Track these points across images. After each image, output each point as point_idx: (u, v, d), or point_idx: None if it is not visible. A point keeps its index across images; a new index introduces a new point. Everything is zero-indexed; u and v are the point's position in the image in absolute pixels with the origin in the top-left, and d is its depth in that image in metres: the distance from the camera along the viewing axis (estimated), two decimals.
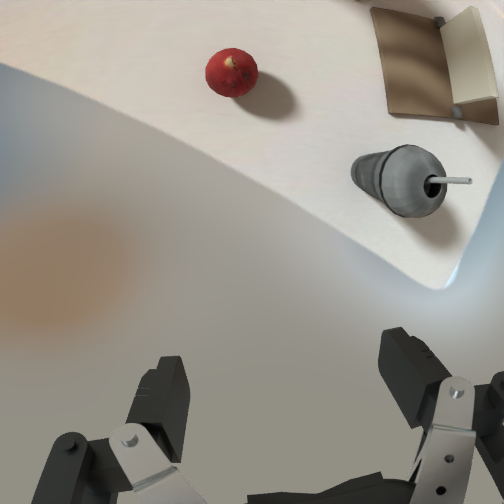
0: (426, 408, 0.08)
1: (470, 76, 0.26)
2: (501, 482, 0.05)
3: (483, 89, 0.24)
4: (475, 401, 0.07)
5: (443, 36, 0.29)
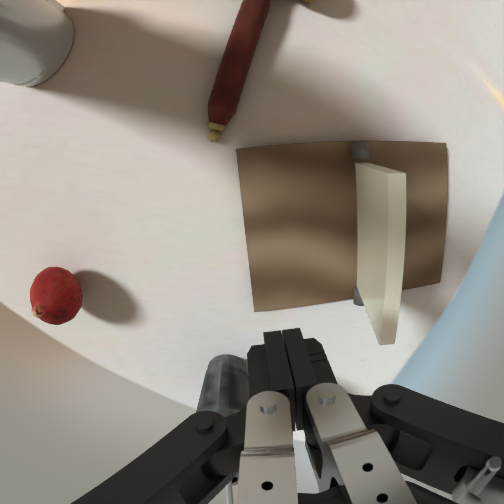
0: (303, 411, 0.09)
1: (370, 283, 0.23)
2: (433, 480, 0.06)
3: (376, 323, 0.22)
4: None
5: (357, 181, 0.26)
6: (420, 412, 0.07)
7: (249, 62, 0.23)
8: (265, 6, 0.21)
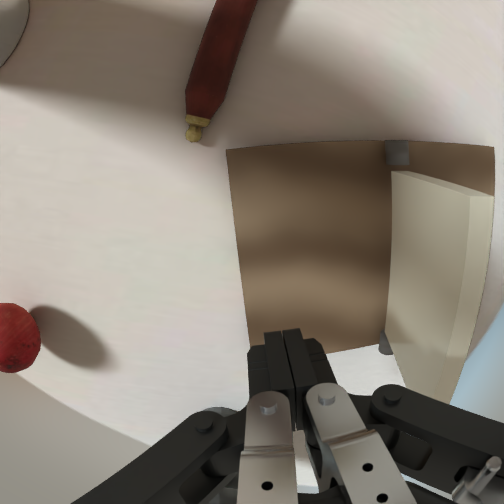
0: (303, 411, 0.09)
1: (412, 342, 0.15)
2: (433, 480, 0.06)
3: None
4: None
5: (394, 196, 0.18)
6: (420, 412, 0.07)
7: (243, 31, 0.16)
8: None
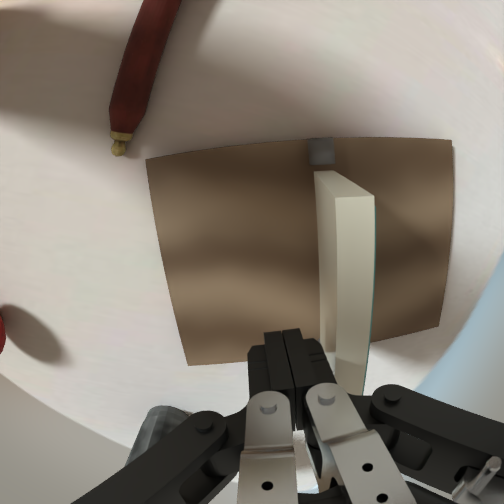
0: (302, 411, 0.09)
1: (326, 356, 0.15)
2: (433, 480, 0.06)
3: None
4: None
5: (316, 198, 0.18)
6: (420, 412, 0.07)
7: (159, 45, 0.16)
8: None
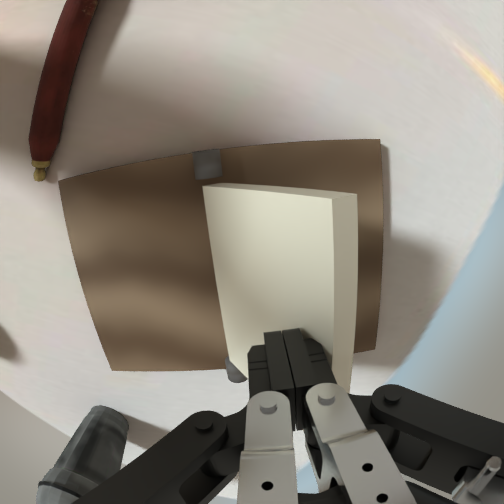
0: (302, 411, 0.09)
1: None
2: (433, 480, 0.06)
3: None
4: None
5: (209, 214, 0.17)
6: (420, 412, 0.07)
7: (64, 76, 0.16)
8: (86, 0, 0.13)
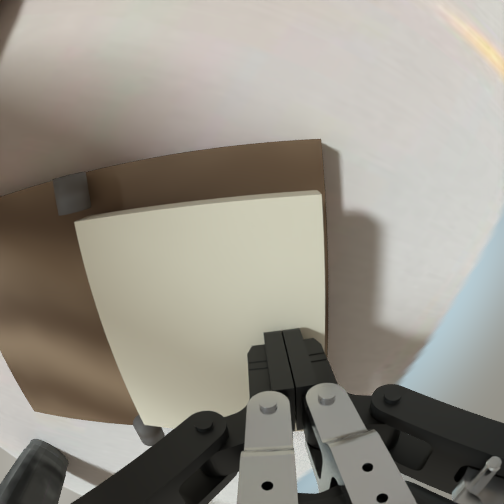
0: (302, 411, 0.09)
1: (235, 394, 0.14)
2: (433, 480, 0.06)
3: None
4: None
5: (90, 256, 0.12)
6: (420, 412, 0.07)
7: None
8: None
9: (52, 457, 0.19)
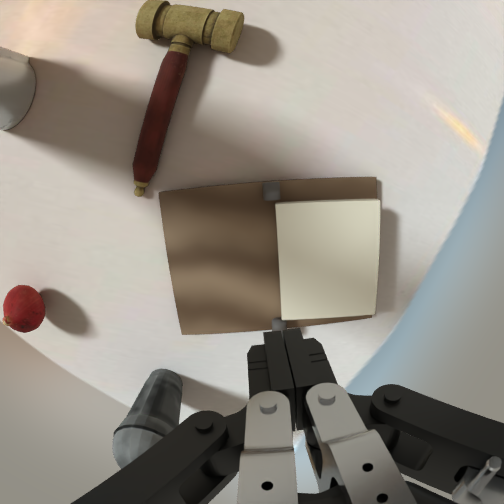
0: (303, 411, 0.09)
1: (338, 290, 0.30)
2: (433, 480, 0.06)
3: (362, 307, 0.31)
4: None
5: (281, 220, 0.29)
6: (420, 412, 0.07)
7: (165, 123, 0.27)
8: (180, 65, 0.25)
9: (175, 380, 0.36)
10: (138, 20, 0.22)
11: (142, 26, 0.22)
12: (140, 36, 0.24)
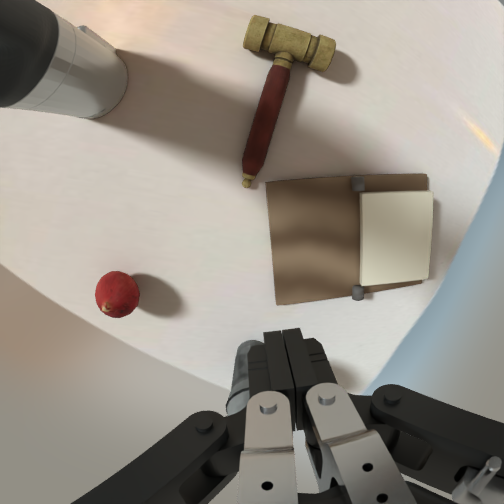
0: (303, 411, 0.09)
1: (403, 260, 0.37)
2: (433, 480, 0.06)
3: (419, 273, 0.38)
4: None
5: (366, 206, 0.36)
6: (420, 412, 0.07)
7: (274, 126, 0.33)
8: (286, 78, 0.31)
9: None
10: (249, 33, 0.28)
11: (252, 39, 0.28)
12: (246, 47, 0.30)
